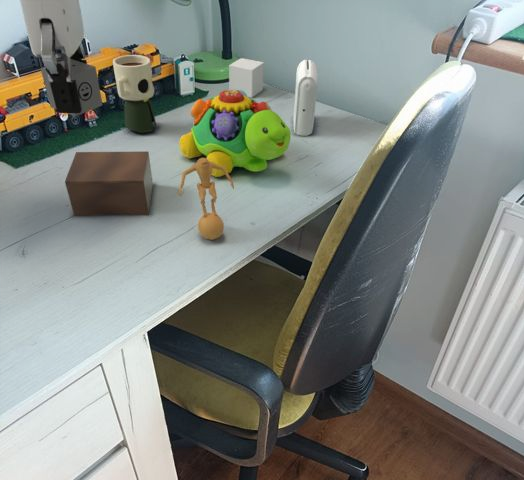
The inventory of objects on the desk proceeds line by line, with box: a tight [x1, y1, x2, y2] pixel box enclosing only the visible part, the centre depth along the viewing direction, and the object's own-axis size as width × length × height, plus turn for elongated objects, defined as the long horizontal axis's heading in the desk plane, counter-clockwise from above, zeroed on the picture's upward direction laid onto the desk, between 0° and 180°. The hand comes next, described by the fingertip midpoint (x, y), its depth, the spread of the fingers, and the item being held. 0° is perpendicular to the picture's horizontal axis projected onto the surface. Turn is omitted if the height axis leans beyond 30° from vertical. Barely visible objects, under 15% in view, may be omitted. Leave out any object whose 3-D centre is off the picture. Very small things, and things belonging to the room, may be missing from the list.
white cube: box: [228, 57, 265, 99], centre depth 121 cm, size 6×6×6 cm
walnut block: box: [64, 150, 154, 217], centre depth 85 cm, size 12×10×6 cm
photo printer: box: [292, 59, 319, 137], centre depth 105 cm, size 10×4×12 cm, turn 177°
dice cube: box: [40, 59, 103, 117], centre depth 70 cm, size 5×5×5 cm
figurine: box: [178, 157, 235, 241], centre depth 77 cm, size 8×6×12 cm
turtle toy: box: [178, 89, 292, 178], centre depth 94 cm, size 17×23×12 cm
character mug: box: [112, 54, 157, 133], centre depth 102 cm, size 11×7×13 cm, turn 161°
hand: (75, 100), depth 72 cm, fingers closed on dice cube, 7 cm apart
